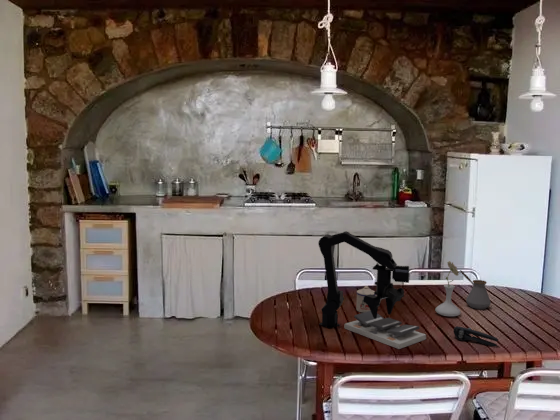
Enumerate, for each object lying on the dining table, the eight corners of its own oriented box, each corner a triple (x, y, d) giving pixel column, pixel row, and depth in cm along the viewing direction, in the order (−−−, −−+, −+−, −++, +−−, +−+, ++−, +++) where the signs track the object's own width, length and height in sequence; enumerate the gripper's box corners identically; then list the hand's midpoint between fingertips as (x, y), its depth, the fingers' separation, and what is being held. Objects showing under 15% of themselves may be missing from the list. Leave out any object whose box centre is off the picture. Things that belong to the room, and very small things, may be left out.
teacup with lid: (359, 313, 252) (360, 289, 251) (353, 307, 261) (354, 284, 260) (383, 313, 254) (384, 288, 253) (377, 307, 263) (378, 283, 262)
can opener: (450, 340, 222) (451, 326, 221) (455, 335, 228) (456, 322, 227) (495, 350, 212) (496, 336, 211) (499, 345, 217) (500, 331, 217)
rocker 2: (382, 330, 220) (383, 327, 220) (369, 325, 226) (369, 322, 226) (401, 324, 228) (401, 321, 228) (388, 319, 233) (388, 317, 233)
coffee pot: (495, 309, 263) (497, 279, 261) (475, 311, 260) (477, 280, 258) (467, 297, 283) (469, 269, 281) (448, 298, 280) (450, 270, 278)
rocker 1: (365, 326, 228) (366, 324, 227) (354, 317, 232) (354, 315, 232) (384, 320, 235) (384, 318, 235) (372, 311, 240) (373, 309, 240)
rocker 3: (400, 335, 214) (400, 332, 214) (387, 333, 219) (386, 330, 219) (419, 328, 221) (419, 326, 221) (405, 326, 227) (405, 324, 227)
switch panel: (398, 349, 210) (399, 340, 210) (344, 328, 232) (344, 320, 232) (425, 339, 221) (426, 331, 221) (371, 320, 244) (371, 313, 243)
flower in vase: (461, 319, 247) (465, 265, 244) (435, 317, 249) (439, 264, 246) (458, 310, 260) (461, 259, 257) (433, 308, 262) (436, 258, 259)
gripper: (384, 288, 214) (382, 326, 216) (413, 281, 226) (411, 317, 228) (363, 282, 223) (361, 318, 225) (392, 275, 234) (390, 310, 236)
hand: (382, 316), depth 228 cm, fingers open, 9 cm apart
